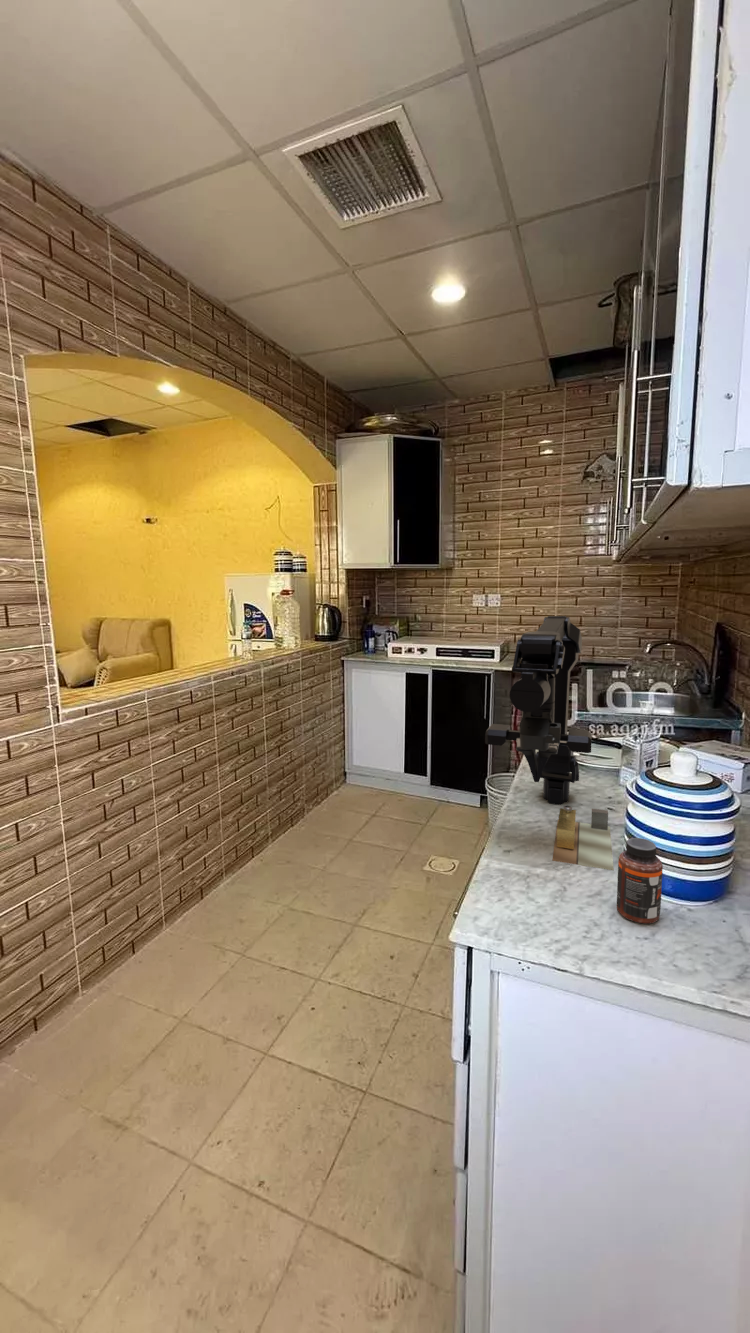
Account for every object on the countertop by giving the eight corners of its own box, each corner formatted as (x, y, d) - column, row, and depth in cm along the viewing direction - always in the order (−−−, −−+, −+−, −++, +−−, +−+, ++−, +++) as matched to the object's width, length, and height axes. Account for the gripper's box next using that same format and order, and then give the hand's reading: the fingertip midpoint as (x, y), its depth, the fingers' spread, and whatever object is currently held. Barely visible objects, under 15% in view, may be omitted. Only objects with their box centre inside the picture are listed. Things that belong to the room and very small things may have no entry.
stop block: (591, 824, 107) (591, 808, 107) (607, 827, 106) (607, 810, 106) (591, 828, 106) (591, 811, 105) (607, 830, 105) (608, 813, 104)
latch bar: (559, 824, 107) (560, 804, 107) (575, 826, 106) (575, 806, 106) (556, 846, 98) (557, 824, 97) (573, 849, 97) (574, 827, 96)
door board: (557, 825, 110) (557, 819, 110) (609, 832, 107) (609, 826, 106) (552, 866, 94) (552, 860, 94) (613, 876, 90) (613, 870, 90)
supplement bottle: (665, 928, 76) (670, 854, 75) (621, 923, 78) (625, 851, 76) (652, 904, 82) (656, 835, 81) (612, 900, 83) (615, 833, 82)
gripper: (479, 707, 94) (479, 790, 96) (592, 713, 87) (589, 803, 89) (490, 695, 104) (490, 771, 106) (592, 700, 97) (589, 781, 99)
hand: (536, 781), depth 100 cm, fingers closed
